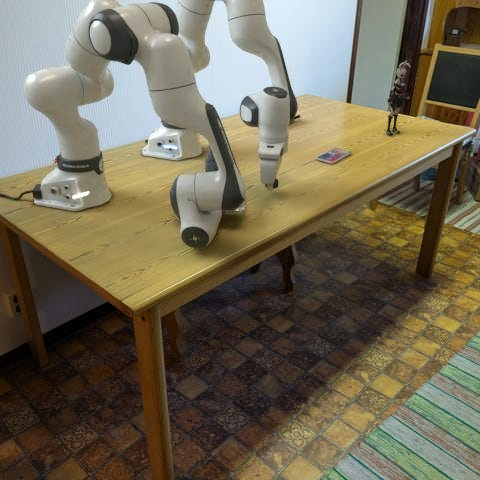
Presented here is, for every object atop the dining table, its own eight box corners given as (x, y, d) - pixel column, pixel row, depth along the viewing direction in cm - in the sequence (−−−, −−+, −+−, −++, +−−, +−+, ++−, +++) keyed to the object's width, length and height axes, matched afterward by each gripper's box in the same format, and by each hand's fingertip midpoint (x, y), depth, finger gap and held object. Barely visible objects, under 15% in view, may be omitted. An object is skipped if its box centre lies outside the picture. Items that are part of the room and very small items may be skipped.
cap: (279, 188, 156) (279, 182, 155) (265, 189, 156) (266, 183, 155) (277, 183, 160) (277, 177, 159) (264, 183, 159) (264, 177, 158)
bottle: (204, 209, 148) (203, 148, 139) (207, 202, 153) (205, 142, 144) (222, 210, 148) (222, 149, 139) (224, 203, 153) (224, 143, 143)
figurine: (387, 138, 208) (399, 62, 194) (375, 134, 212) (386, 59, 197) (406, 131, 217) (419, 57, 202) (394, 128, 221) (406, 55, 206)
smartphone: (352, 151, 191) (332, 162, 181) (352, 154, 191) (332, 165, 181) (335, 147, 195) (315, 157, 185) (335, 149, 195) (314, 159, 185)
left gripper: (244, 202, 134) (250, 181, 146) (169, 197, 136) (180, 177, 148) (244, 223, 137) (249, 201, 149) (170, 218, 139) (181, 197, 151)
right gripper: (268, 132, 160) (266, 173, 167) (256, 154, 143) (255, 199, 150) (288, 134, 159) (285, 175, 166) (279, 156, 142) (276, 201, 149)
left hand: (214, 189), depth 149 cm, fingers closed on bottle, 5 cm apart
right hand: (271, 186), depth 158 cm, fingers closed on cap, 4 cm apart
